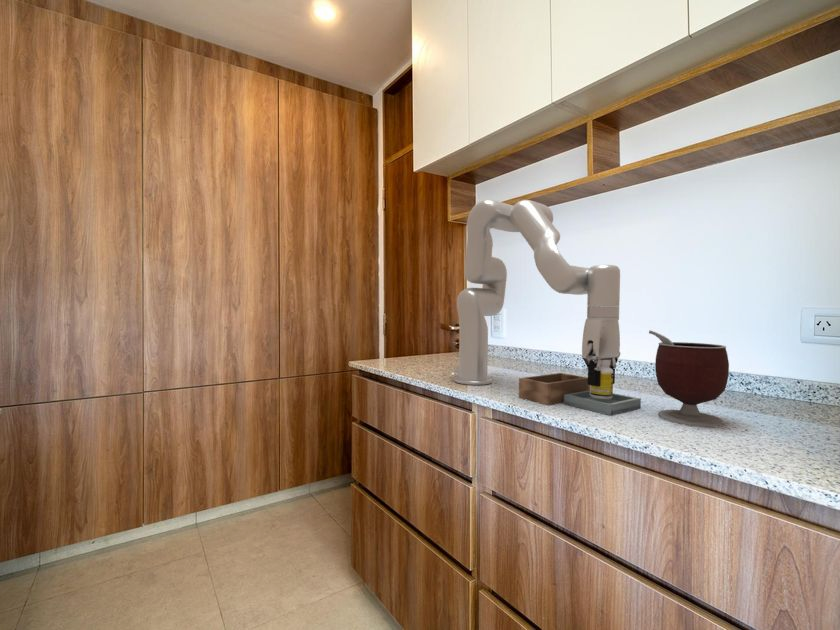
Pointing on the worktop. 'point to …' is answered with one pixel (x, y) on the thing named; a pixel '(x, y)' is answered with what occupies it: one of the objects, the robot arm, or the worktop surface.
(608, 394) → the supplement bottle
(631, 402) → the tray
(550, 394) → the holder
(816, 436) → the worktop surface
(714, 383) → the mate gourd
